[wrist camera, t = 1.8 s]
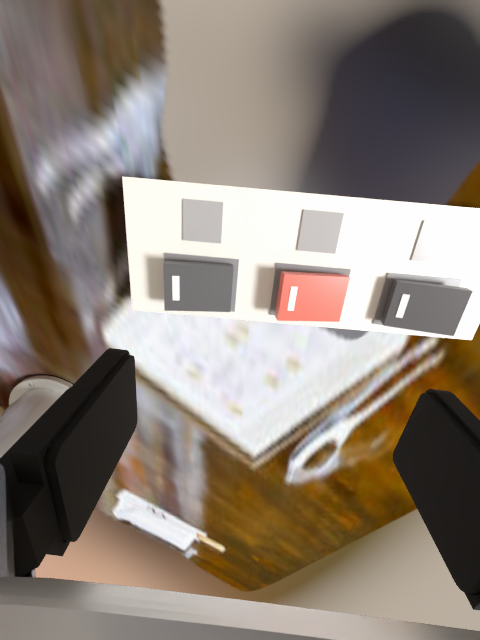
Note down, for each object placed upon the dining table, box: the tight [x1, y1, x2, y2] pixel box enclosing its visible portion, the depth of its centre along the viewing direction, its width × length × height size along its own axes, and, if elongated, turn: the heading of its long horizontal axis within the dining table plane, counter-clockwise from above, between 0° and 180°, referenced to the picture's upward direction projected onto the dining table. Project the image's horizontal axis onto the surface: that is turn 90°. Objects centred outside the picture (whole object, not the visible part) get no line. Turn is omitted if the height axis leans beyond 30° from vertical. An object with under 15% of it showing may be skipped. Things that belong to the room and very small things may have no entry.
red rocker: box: [275, 271, 350, 322], centre depth 30 cm, size 7×5×1 cm
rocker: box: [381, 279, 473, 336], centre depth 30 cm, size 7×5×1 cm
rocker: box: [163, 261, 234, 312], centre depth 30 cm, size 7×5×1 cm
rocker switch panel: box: [122, 177, 480, 340], centre depth 32 cm, size 53×14×4 cm, turn 85°
